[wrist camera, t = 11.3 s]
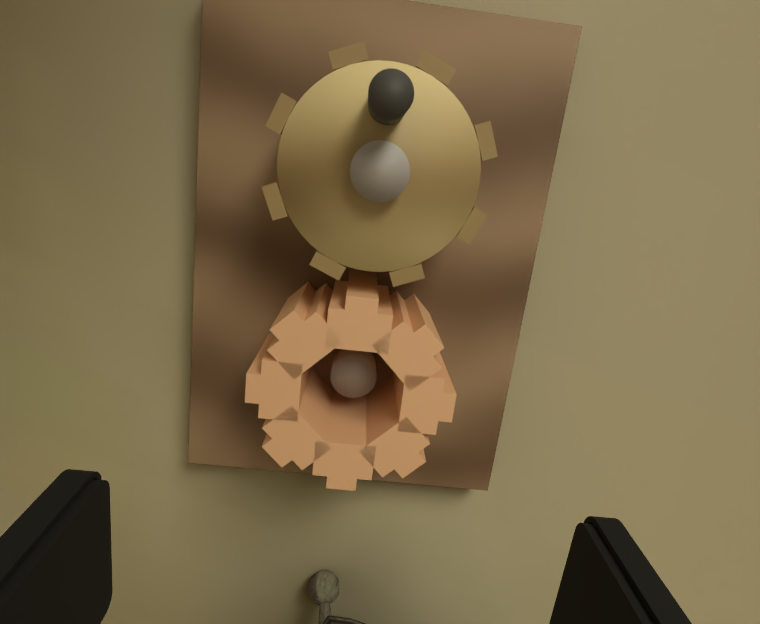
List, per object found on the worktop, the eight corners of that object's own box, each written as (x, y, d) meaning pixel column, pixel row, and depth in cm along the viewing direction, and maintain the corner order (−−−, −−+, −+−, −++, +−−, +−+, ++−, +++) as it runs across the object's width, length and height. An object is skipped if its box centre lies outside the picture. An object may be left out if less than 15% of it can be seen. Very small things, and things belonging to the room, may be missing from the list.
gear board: (214, -16, 20) (114, -137, 12) (567, 36, 21) (693, -46, 13) (198, 445, 25) (120, 576, 17) (480, 472, 26) (532, 609, 18)
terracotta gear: (273, 261, 22) (251, 285, 17) (450, 281, 22) (471, 309, 18) (263, 423, 24) (240, 480, 19) (425, 438, 24) (438, 498, 20)
